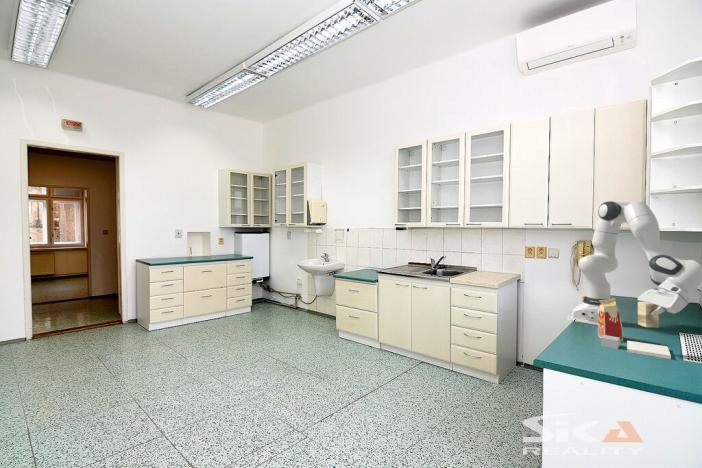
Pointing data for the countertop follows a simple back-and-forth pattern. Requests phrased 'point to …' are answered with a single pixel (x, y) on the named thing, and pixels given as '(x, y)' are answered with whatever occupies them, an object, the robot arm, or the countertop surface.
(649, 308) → the maple block
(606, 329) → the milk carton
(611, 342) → the grey plastic box
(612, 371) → the countertop surface
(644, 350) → the off-white board
